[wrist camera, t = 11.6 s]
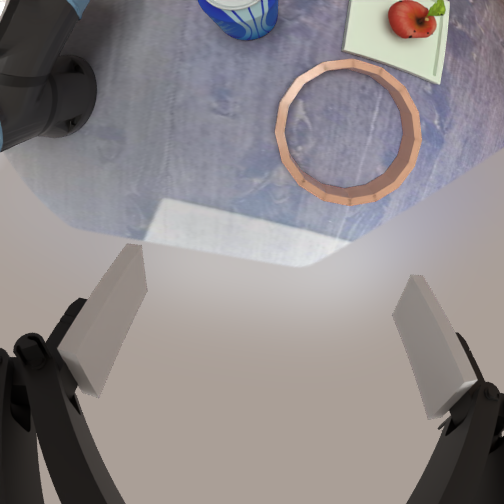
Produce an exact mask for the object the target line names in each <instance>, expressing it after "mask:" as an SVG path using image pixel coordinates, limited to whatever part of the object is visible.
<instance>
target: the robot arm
mask: <svg viewBox="0 0 504 504" xmlns="http://www.w3.org/2000/svg"><path fill="white" fill-rule="evenodd" d="M89 2H90V0H0V152H2V151H4V150H7V149H9V148H11V147H13V146H15V145H17V144H20V143H22V142H24V141H27V140H29V139H31V138H33V137H36V136H43V137H51V138H59V137H64V136H66V135H69V134H72V133H74V132H76V131H77V130H78V129H80V128H81V127H82V126H83V125H84V124H85V122H86V121H87V120H88V118H89V116H90V114H91V112H92V110H93V107H94V104H95V99H96V80H95V76H94V73H93V71H92V69H91V67H90V66H89V64H88V63H87V62H86V61H85V60H83V59H82V58H80V57H77V56H72V55H63V56H59V54H60V52H61V50H62V48H63V46H64V44H65V42H66V40H67V38H68V37H69V35H70V33H71V31H72V30H73V28H74V26H75V24H76V23H77V21H78V20H80V19H81V18H82V13H83V11H84V10H85V8H86V6H87V5H88V3H89ZM146 293H147V284H146V277H145V270H144V262H143V253H142V245H135V244H126V246H125V247H124V248H123V250H122V251H121V252H120V254H119V255H118V257H117V258H116V259H115V261H114V262H113V263H112V265H111V266H110V268H109V269H108V270H107V272H106V273H105V275H104V276H103V278H102V279H101V280H100V282H99V284H98V285H97V287H96V288H95V289H94V291H93V292H92V294H91V295H90V297H89V298H88V299H83V298H78V299H77V300H76V301H75V302H73V303H72V304H71V305H70V306H69V307H68V309H67V310H66V312H65V313H64V315H63V316H62V318H61V319H60V322H59V323H58V324H57V325H56V327H55V328H54V330H53V332H52V334H51V335H50V336H49V338H48V340H47V341H46V343H45V341H44V339H43V338H42V336H40V335H39V334H36V333H28V334H25V335H23V336H21V337H20V338H19V339H18V340H17V342H16V343H15V345H14V351H13V352H14V354H15V355H16V357H9V355H8V354H7V352H6V351H5V350H4V349H2V348H0V504H44V499H43V494H42V488H41V480H40V472H39V464H38V452H37V437H38V440H39V444H40V447H41V450H42V453H43V457H44V460H45V463H46V466H47V468H48V471H49V474H50V477H51V479H52V482H53V484H54V487H55V490H56V492H57V494H58V497H59V499H60V501H61V504H125V502H124V500H123V498H122V497H121V495H120V493H119V491H118V490H117V488H116V486H115V484H114V482H113V480H112V478H111V476H110V474H109V472H108V470H107V468H106V466H105V464H104V462H103V460H102V458H101V456H100V454H99V451H98V449H97V447H96V445H95V442H94V440H93V438H92V435H91V433H90V430H89V428H88V425H87V423H86V421H85V418H84V415H83V412H82V410H81V407H80V404H79V401H78V398H77V396H76V394H75V390H76V388H77V386H79V388H80V389H81V391H82V392H83V393H85V394H88V395H91V396H94V397H97V398H99V397H100V394H101V392H102V390H103V387H104V385H105V383H106V380H107V378H108V375H109V373H110V371H111V368H112V366H113V364H114V361H115V359H116V357H117V355H118V352H119V350H120V348H121V346H122V343H123V341H124V339H125V337H126V335H127V333H128V330H129V328H130V326H131V324H132V322H133V320H134V317H135V315H136V313H137V311H138V309H139V307H140V305H141V303H142V301H143V299H144V297H145V295H146ZM392 316H393V319H394V321H395V324H396V326H397V329H398V331H399V334H400V337H401V339H402V342H403V344H404V347H405V350H406V353H407V355H408V358H409V361H410V364H411V367H412V370H413V373H414V376H415V378H416V382H417V385H418V388H419V391H420V394H421V398H422V401H423V404H424V407H425V411H426V414H427V418H428V420H430V419H435V418H441V417H442V416H443V415H444V414H445V413H446V412H447V411H450V413H451V416H450V417H449V418H447V419H446V420H445V421H444V422H443V423H442V424H441V425H440V426H439V427H438V429H441V428H442V427H443V426H444V425H445V426H444V429H443V430H442V433H441V436H440V438H439V441H438V443H437V445H436V448H435V450H434V452H433V454H432V456H431V458H430V460H429V463H428V465H427V467H426V469H425V471H424V473H423V475H422V476H421V479H420V480H419V482H418V484H417V486H416V488H415V489H414V491H413V493H412V495H411V496H410V498H409V500H408V501H407V503H406V504H504V436H503V437H502V431H504V394H503V393H500V392H499V390H498V388H497V387H496V386H495V385H494V384H493V383H490V382H485V381H484V378H483V376H482V374H481V372H480V369H479V367H478V365H477V363H476V361H475V359H474V357H473V355H472V353H471V351H469V347H468V345H467V343H466V341H465V340H464V338H463V337H462V336H461V335H460V334H459V333H455V331H454V329H453V327H452V326H451V324H450V322H449V320H448V318H447V316H446V315H445V313H444V311H443V309H442V307H441V306H440V304H439V302H438V300H437V299H436V297H435V295H434V293H433V292H432V290H431V288H430V287H429V285H428V283H427V282H426V280H425V278H424V277H423V276H421V275H410V278H409V280H408V282H407V285H406V287H405V289H404V291H403V293H402V296H401V298H400V300H399V302H398V304H397V306H396V308H395V310H394V312H393V314H392ZM36 433H37V436H36Z"/></svg>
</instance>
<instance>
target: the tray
mask: <svg viewBox="0 0 504 504" xmlns="http://www.w3.org/2000/svg"><path fill="white" fill-rule="evenodd" d="M398 1H401V0H349V4H348V11H347V18H346V24H345V31H344V37H343V43H342V49H341V51H342V52H345V53H349V54H353V55H356V56H359V57H363V58H366V59H369V60H372V61H375V62H378V63H381V64H384V65H387V66H390V67H393V68H396V69H398V70H401V71H404V72H406V73H409V74H411V75H414V76H416V77H419V78H421V79H423V80H426V81H428V82H430V83H433V84H439V85H440V81H441V75H442V69H443V63H444V56H445V48H446V40H447V31H448V20H449V5H450V2H448V1H446V0H443V1H444V5H445V8H446V11H445V14H444V15H443V16H434V17H435V19H436V23H437V27H436V30H435V31H434V33H433V35H430V36H429V37H427V38H407V39H404V38H401V37H399V36H398V35H397V34H396V33H395V32H394V31H393V30H392V28H391V26H390V23H389V19H388V11H389V8H390V7H391V6H392V5H393V4H394V3H396V2H398ZM413 1H416V2H418V3H420V4H422V5H423V6H424V7H426V8H428V10H429V9H430V7H431V6H433V4H434V3H435V2H436V3H437V0H413Z"/></svg>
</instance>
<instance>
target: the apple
mask: <svg viewBox="0 0 504 504" xmlns="http://www.w3.org/2000/svg"><path fill="white" fill-rule="evenodd" d="M445 11H446V8H445V5H444V1H443V0H437V3H436V2H435V3H434V4H433V6H431V7H430V9H429V10H428V8H426V7H424V6H423V5H422V4H420V3H418V2H416V1H413V0H401V1H398V2H396V3H394V4H393V5H392V6H391V7H390V8H389V11H388V19H389V23H390V26H391V28H392V30H393V31H394V32H395V33H396V34H397V35H398V36H399V37H401V38H404V39H407V38H427V37H429V36H430V35H433V33H434V31H435V30H436V27H437V23H436V19H435V17H434V16H443V15H444V14H445Z"/></svg>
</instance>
